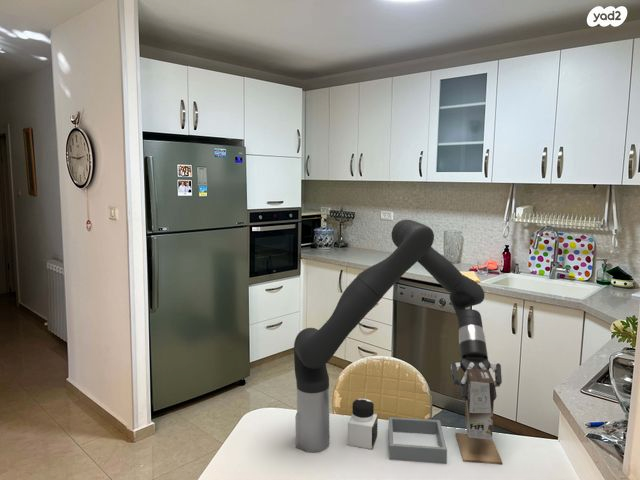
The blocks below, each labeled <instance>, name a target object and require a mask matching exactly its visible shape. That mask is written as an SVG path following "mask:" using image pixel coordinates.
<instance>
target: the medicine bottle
mask: <svg viewBox="0 0 640 480" xmlns="http://www.w3.org/2000/svg"><path fill="white" fill-rule="evenodd" d="M374 406H375V405H374V402H373V401H372V400H370V399H367V398H357V399H355V400H354V401H353V402H352V407H351V408H352V409H351V411H352V414H351V416H350V418H349V420H348V422H347V445H348V446H351V447H355V448H356V447H358V448H361V449H368V450H373V449H374V446H375V443H376V440H377V438H378V414H377V413H374V411H375V409H374Z"/></svg>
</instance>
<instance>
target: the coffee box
mask: <svg viewBox="0 0 640 480" xmlns="http://www.w3.org/2000/svg"><path fill="white" fill-rule="evenodd" d="M466 374H467V377H466V379H467V381H466V383H465V385H466V386H467V400H464V402H465V407H464V409H465V410H464V411H465V413H464V423H465V427H466V432H467V433H466V434H468V437H470V438H480V439H488V440H492V439H493V427H494V426H493V424H494V422H493V421H494V405H495V404H494V403H495V400H494V385H495V382H494V381H495V380H494V378H493V376H492V374H491V371H490V369H489V370H486V369H466Z"/></svg>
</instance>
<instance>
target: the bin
mask: <svg viewBox="0 0 640 480" xmlns="http://www.w3.org/2000/svg"><path fill="white" fill-rule="evenodd" d="M394 433H407V434H408V433H409V434H422V435H425V434H426V435H435V436H436V438H437V443H438V446H429V445H419V444H417V445H416V444H415V445H414V444H402V443H401V444H400V443H394ZM388 452H389V454H388V455H389V456H388V457H389V460H390V461H392V460H393V461H404V462H405V461H406V462H418V463H419V462H421V463H431V464H433V463H434V464H445V465H446V464H448V448H447V444H446V439H445V436H444V431H443V426H442V423H441V420H440V419H427V418H410V417H395V416H394V417H393V416H392V417H391V416H389V417H388Z"/></svg>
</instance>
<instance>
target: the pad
mask: <svg viewBox="0 0 640 480" xmlns="http://www.w3.org/2000/svg"><path fill="white" fill-rule="evenodd" d="M455 438H456V441H457V444H458V448H459V452H460V455H461V459H462V462H464V463H476V464H478V463H479V464H490V465H491V464H492V465H503V461H502V458H501V456H500V453H499V451H498V448H497V447H496V446H497V445H496V444H495V441H494V439H493V438H492V440H488V439H480V438H470V437H468V433H463V432H462V433H459V432H455Z"/></svg>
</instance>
